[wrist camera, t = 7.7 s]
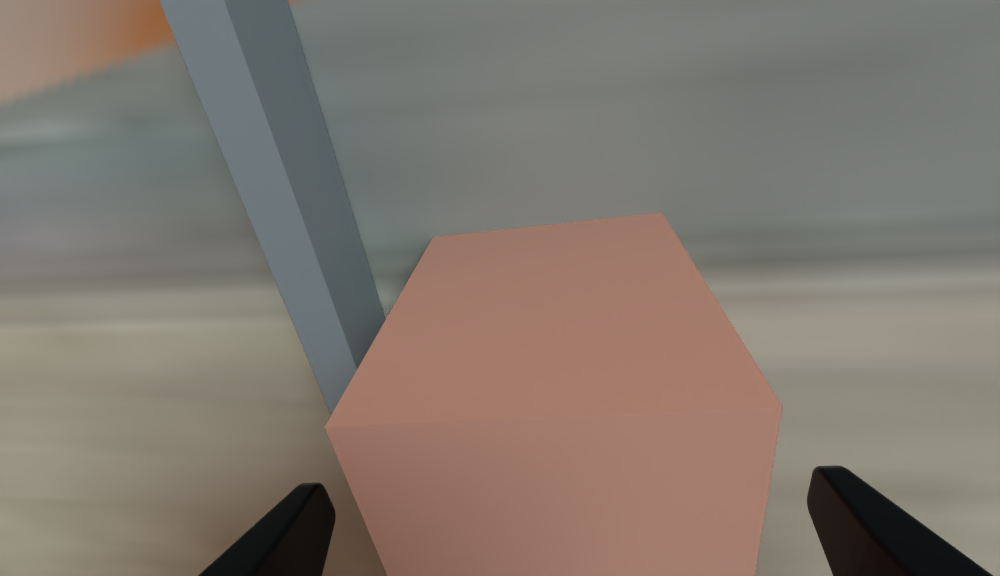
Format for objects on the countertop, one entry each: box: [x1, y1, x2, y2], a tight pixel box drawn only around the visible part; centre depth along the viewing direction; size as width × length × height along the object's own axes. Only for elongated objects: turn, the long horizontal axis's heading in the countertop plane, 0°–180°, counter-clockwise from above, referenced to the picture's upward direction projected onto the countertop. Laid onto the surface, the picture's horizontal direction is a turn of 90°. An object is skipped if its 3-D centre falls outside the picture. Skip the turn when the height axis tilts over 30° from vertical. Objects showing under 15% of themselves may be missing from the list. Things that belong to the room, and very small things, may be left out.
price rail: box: [159, 0, 385, 415], centre depth 13 cm, size 1×32×2 cm, turn 9°
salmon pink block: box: [324, 213, 783, 576], centre depth 10 cm, size 5×8×6 cm
